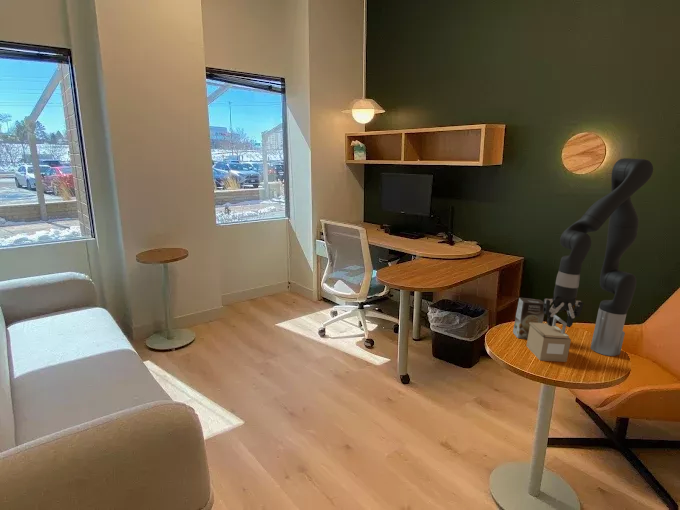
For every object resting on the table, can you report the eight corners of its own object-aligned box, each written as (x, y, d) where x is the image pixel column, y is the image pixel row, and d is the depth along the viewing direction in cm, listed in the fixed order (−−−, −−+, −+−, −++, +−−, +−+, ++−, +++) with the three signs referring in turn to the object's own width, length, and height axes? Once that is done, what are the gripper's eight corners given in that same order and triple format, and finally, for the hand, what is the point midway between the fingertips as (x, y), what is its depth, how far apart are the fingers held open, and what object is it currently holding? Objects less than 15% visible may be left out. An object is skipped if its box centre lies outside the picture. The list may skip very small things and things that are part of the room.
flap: (552, 325, 164) (555, 313, 163) (568, 338, 153) (571, 325, 152) (528, 324, 165) (531, 311, 163) (542, 337, 153) (545, 323, 152)
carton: (551, 347, 167) (555, 326, 165) (566, 362, 155) (571, 339, 153) (526, 346, 167) (530, 325, 165) (539, 360, 155) (544, 338, 153)
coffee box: (517, 338, 174) (523, 302, 170) (512, 332, 180) (518, 297, 176) (539, 340, 173) (546, 304, 169) (534, 334, 179) (540, 299, 175)
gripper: (580, 282, 158) (572, 323, 162) (543, 279, 158) (535, 321, 162) (592, 288, 151) (583, 331, 154) (552, 285, 151) (544, 328, 154)
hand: (558, 325), depth 158 cm, fingers open, 6 cm apart
